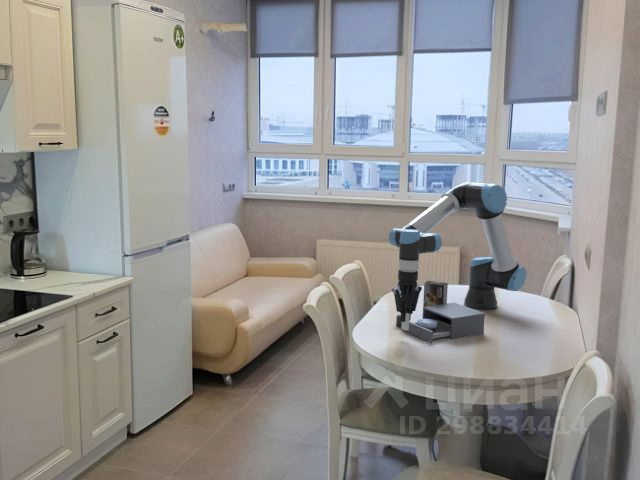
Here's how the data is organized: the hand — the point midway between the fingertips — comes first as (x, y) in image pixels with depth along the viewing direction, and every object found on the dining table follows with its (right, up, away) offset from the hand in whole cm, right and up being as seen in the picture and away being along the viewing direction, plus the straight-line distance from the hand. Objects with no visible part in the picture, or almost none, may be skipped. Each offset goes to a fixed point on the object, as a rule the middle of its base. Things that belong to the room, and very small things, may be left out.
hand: (405, 329), depth 238 cm
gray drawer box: (+21, -2, +13) cm, 25 cm away
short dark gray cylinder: (+1, -1, +17) cm, 17 cm away
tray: (+12, -3, +7) cm, 14 cm away
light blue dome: (+10, +1, +5) cm, 11 cm away
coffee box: (+17, 0, +28) cm, 33 cm away
